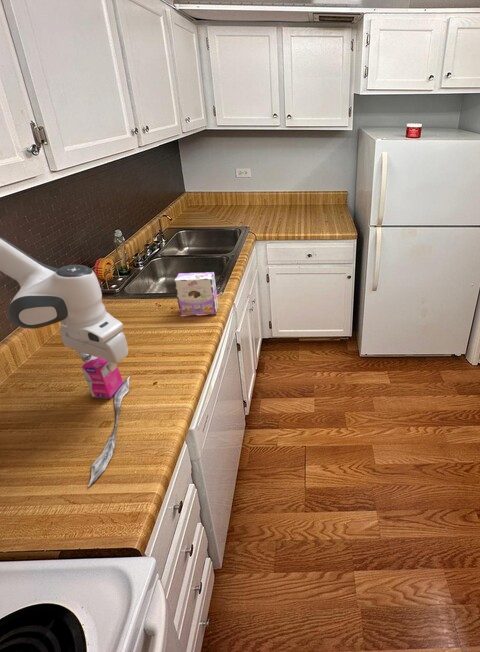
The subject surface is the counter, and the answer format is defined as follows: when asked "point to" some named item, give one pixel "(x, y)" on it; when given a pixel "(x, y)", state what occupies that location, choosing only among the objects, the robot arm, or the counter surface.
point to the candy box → (196, 293)
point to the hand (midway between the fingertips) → (99, 364)
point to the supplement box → (101, 378)
